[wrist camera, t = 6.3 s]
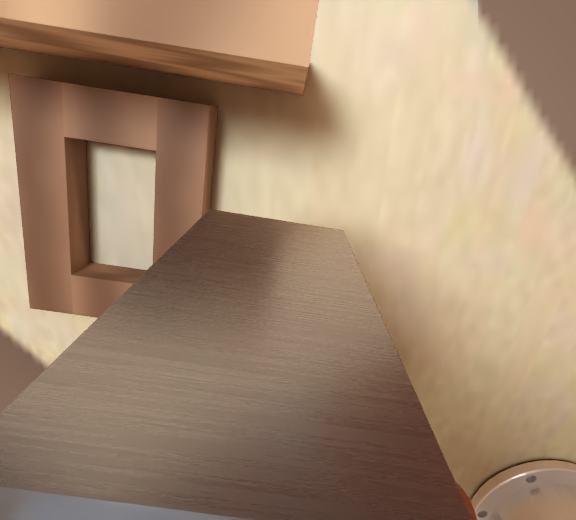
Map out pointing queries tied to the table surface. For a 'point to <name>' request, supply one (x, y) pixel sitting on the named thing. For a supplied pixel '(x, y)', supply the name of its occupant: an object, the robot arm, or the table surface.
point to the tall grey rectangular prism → (230, 395)
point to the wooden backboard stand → (131, 118)
